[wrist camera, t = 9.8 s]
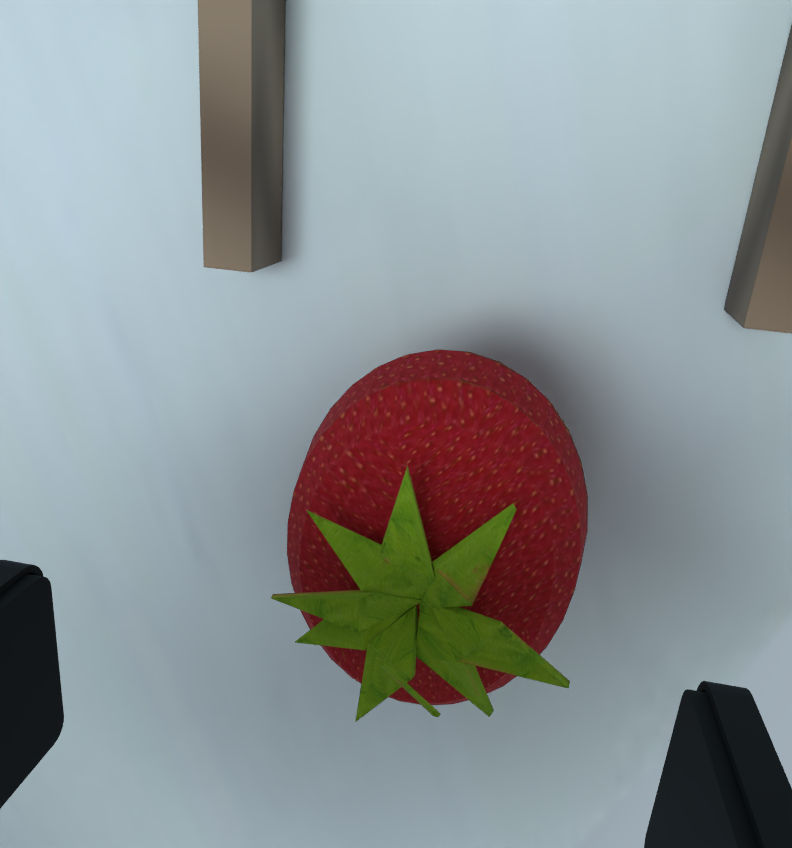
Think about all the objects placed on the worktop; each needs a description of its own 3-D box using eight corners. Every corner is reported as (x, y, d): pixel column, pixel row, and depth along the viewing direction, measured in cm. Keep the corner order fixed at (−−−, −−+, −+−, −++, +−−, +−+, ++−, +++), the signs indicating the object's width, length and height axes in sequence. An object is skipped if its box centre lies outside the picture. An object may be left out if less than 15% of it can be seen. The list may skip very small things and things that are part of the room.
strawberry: (610, 321, 18) (671, 500, 9) (543, 578, 21) (533, 921, 11) (377, 277, 19) (204, 398, 9) (342, 531, 21) (183, 816, 12)
